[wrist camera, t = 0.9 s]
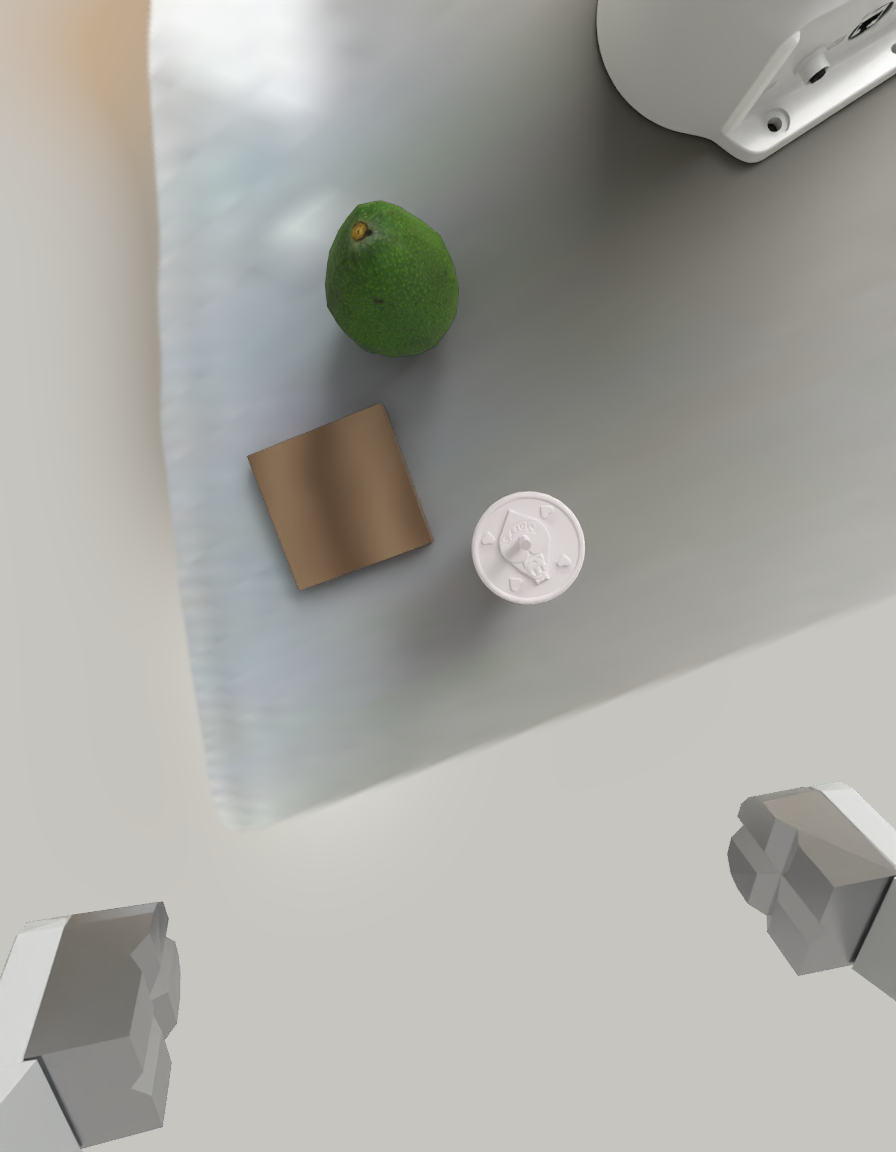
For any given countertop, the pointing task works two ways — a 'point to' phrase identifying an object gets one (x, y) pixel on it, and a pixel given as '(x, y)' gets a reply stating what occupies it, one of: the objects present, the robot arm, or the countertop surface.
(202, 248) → the countertop surface
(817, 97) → the robot arm
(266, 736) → the countertop surface
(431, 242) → the avocado
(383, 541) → the coaster board
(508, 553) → the smoothie
